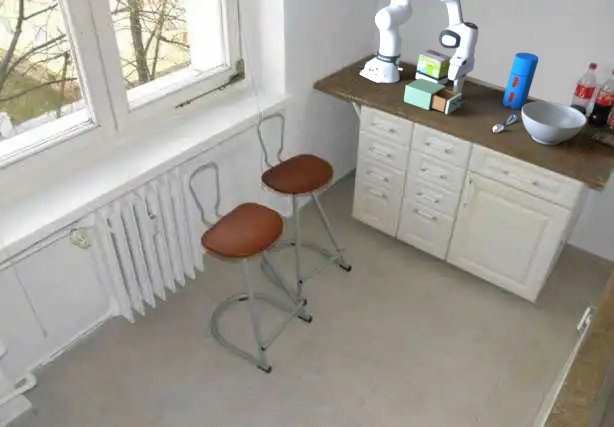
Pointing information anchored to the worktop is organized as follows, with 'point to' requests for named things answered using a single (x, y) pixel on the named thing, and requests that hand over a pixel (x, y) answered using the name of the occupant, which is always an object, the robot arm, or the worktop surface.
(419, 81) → the cabinet
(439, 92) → the drawer
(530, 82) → the thermos
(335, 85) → the worktop surface
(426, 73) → the tea box
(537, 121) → the decorative bowl
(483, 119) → the worktop surface
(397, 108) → the worktop surface
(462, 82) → the canister with knobbed lid
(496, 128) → the silver spoon
